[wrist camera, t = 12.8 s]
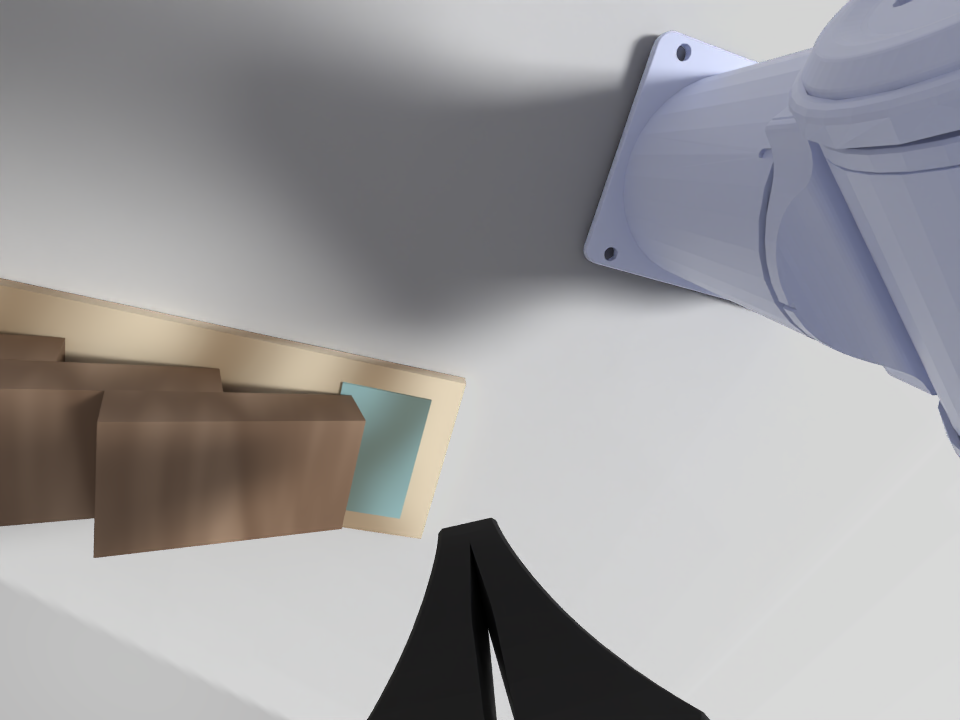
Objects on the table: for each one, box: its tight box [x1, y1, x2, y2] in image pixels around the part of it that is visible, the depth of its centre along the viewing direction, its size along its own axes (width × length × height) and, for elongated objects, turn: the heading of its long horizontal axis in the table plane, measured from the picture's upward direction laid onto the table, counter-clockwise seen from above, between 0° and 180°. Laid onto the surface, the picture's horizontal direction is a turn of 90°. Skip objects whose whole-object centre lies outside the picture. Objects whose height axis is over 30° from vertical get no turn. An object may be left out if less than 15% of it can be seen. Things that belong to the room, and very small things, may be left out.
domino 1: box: [0, 359, 223, 526], centre depth 18 cm, size 2×5×8 cm
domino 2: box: [94, 390, 366, 558], centre depth 18 cm, size 2×5×8 cm
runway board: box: [0, 278, 466, 539], centre depth 21 cm, size 20×8×1 cm, turn 75°
